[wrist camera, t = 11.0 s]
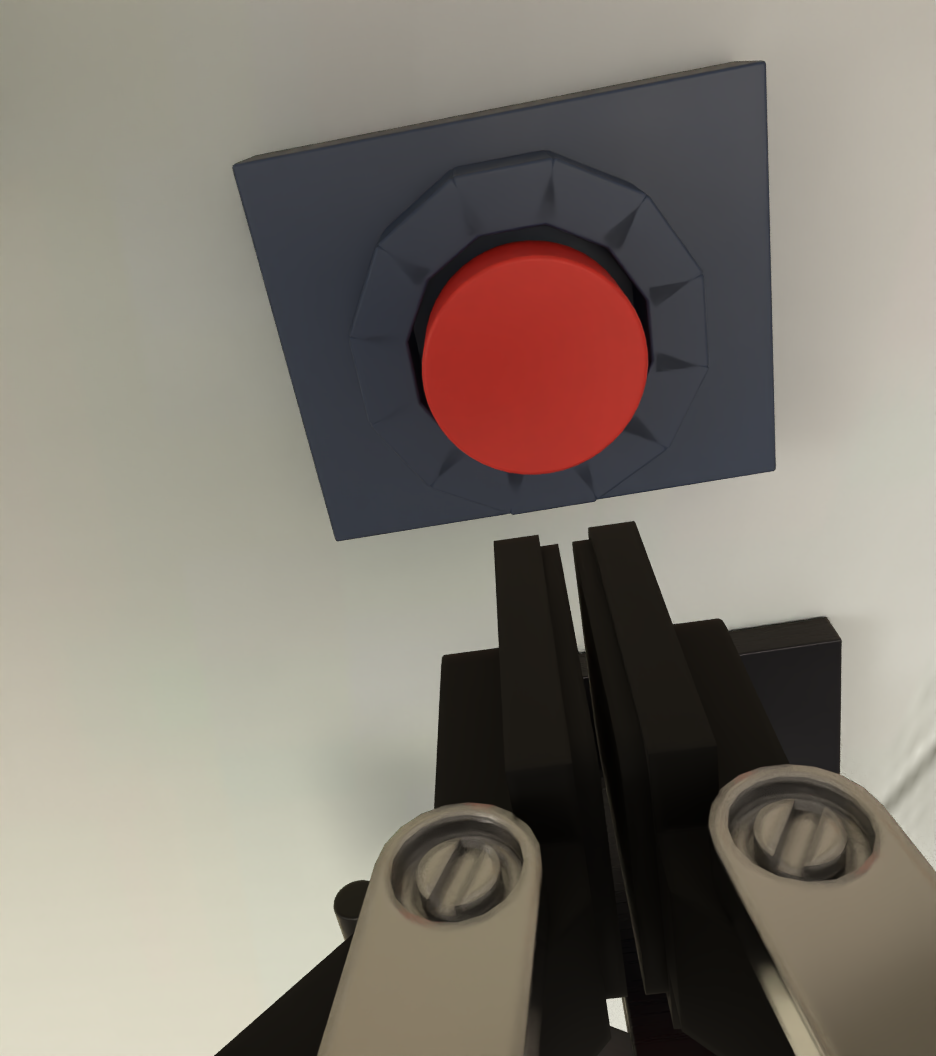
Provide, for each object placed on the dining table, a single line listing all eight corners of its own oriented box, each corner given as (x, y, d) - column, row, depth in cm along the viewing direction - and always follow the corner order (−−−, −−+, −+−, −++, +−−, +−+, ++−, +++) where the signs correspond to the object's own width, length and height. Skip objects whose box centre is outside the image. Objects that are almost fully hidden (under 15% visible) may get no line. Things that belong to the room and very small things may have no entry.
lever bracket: (504, 880, 31) (527, 1348, 20) (457, 671, 27) (452, 1107, 16) (826, 838, 30) (1044, 1301, 19) (827, 616, 26) (1105, 1034, 15)
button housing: (346, 505, 25) (325, 578, 21) (253, 156, 21) (208, 173, 17) (750, 438, 24) (801, 503, 20) (736, 61, 20) (797, 58, 16)
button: (446, 459, 20) (444, 492, 19) (406, 261, 18) (400, 278, 17) (642, 426, 20) (657, 457, 18) (622, 221, 18) (638, 235, 16)
